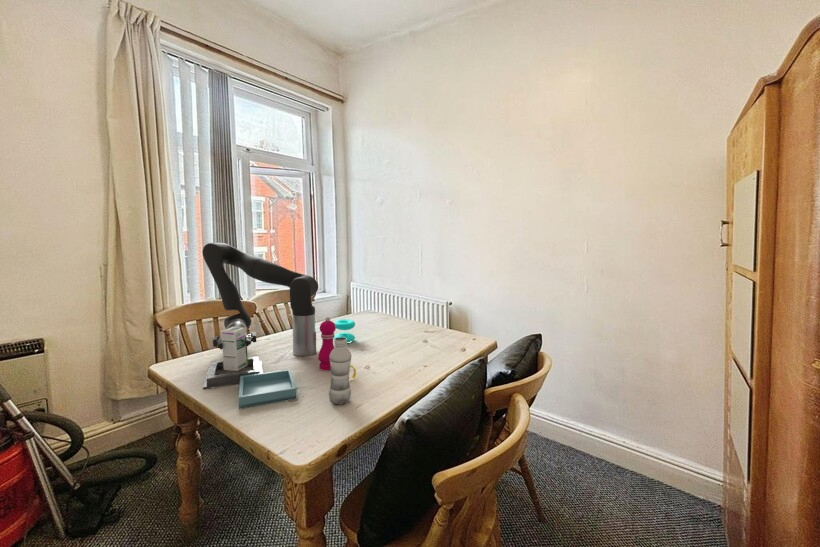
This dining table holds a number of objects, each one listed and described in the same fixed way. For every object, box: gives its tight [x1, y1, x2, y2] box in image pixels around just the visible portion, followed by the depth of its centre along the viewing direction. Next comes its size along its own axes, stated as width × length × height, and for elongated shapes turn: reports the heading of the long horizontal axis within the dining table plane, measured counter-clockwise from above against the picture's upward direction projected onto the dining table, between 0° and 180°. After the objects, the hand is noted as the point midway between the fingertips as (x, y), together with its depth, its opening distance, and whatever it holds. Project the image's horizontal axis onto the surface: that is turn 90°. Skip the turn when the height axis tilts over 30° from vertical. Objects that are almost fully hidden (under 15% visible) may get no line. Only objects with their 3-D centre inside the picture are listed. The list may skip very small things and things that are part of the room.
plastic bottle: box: [328, 337, 353, 405], centre depth 102 cm, size 6×7×20 cm
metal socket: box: [202, 355, 264, 389], centre depth 120 cm, size 18×18×3 cm
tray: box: [238, 368, 298, 410], centre depth 107 cm, size 16×16×4 cm
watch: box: [350, 363, 357, 379], centre depth 118 cm, size 6×3×6 cm, turn 119°
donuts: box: [333, 318, 356, 342], centre depth 160 cm, size 10×10×10 cm
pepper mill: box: [317, 316, 337, 371], centre depth 128 cm, size 7×7×20 cm
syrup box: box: [220, 327, 249, 372], centre depth 119 cm, size 6×6×14 cm
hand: (234, 345), depth 117 cm, fingers closed on syrup box, 8 cm apart
